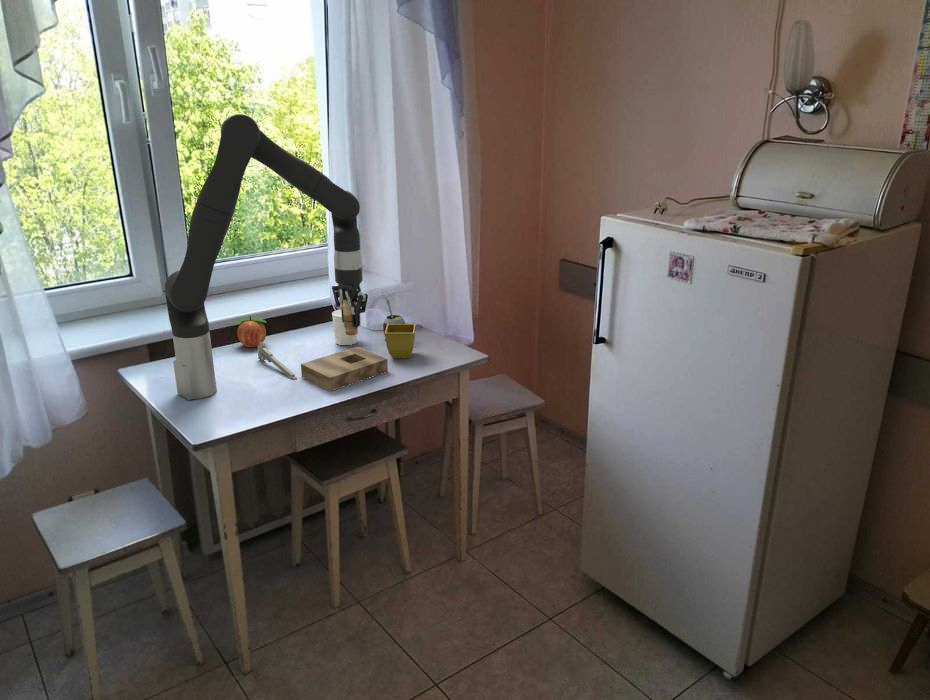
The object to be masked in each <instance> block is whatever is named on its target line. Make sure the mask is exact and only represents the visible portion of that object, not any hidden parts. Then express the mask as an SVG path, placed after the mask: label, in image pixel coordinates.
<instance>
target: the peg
mask: <svg viewBox="0 0 930 700" xmlns="http://www.w3.org/2000/svg"><path fill="white" fill-rule="evenodd" d="M356 302H357V301H354V302H352V303H356ZM355 310H356V306H355ZM343 313H344V328H345V330H346V335H356V334H357V335H358V333H359V331H358V328H359V327H360V326H358V327H353V326H352V311H351V307H349V304H348V301H347V300H343Z"/></svg>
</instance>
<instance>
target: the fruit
mask: <svg viewBox="0 0 930 700" xmlns="http://www.w3.org/2000/svg"><path fill="white" fill-rule="evenodd" d="M238 323H240V324H239V325H238V327H237V333H236V334H237V338H238V341H239V342H240V343H241V344H242V345H243V346H245V347H247V348H258V345H259V342H262V343H263V344H264V343H265V339H266V335H267V330H266V327H265V325H264V323H267V321H266V320H264V319H262V318H258V317H253V318H252V316H251V315H249V318H247V317H245V318H241V319H239V320H238V321H236V322H235V323H234V324H238Z"/></svg>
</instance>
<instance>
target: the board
mask: <svg viewBox="0 0 930 700" xmlns="http://www.w3.org/2000/svg"><path fill="white" fill-rule="evenodd" d="M388 362H389V361H388V358H386V357H384V356H381V355H379V354H377V353H374V352H372V351H369V350H367V349H364V348H362V347H361V346H360V347H359V346H355V347H351V348H349V349H348V348H347V349H346V350H342V351H339V352H336V353H335V352H334V353H332V354H329V355H325V356H322V357H318V358H315V359H313V360H309V361H306V362H303V363H300V371H301V372H300V373H301V377H302V378H303V377H304V378H303V379H305V380H307V381H309V380H310V381H309V382H311V383H313V382H314V383H313V384H315V383H316V384H315V385H317V384H318V385H317V386H319V385H320V386H319V387H321V386H322V387H321V388H323V387H324V388H323V389H325V388H326V389H325V390H327V389H328V390H327V391H329V392H333V391H335V390H334V389H336V390H338V388H339V389H341V387H342V388H344V387H343V386H345V387H347V385H348V386H350V385H349V384H351V385H353V384H352V383H354V384H356V383H355V382H357V383H359V382H358V381H360V382H361V380H363V381H366V380H368V379H370V378H369V377H371V378H373V377H372V376H374V377H376V376H375V375H377V376H380V375H382V374H381V373H383V374H385V373H384V372H386V373H388V371H389V368H388V367H389V365H388ZM379 374H380V375H379ZM367 378H368V379H367ZM332 390H333V391H332Z"/></svg>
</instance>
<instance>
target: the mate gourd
mask: <svg viewBox="0 0 930 700" xmlns="http://www.w3.org/2000/svg"><path fill="white" fill-rule="evenodd" d="M381 295H382V296H383V297H384V298H385V301H386V304H387V307H388V310H389V311H388V312H389V315H387V316H386V317H385V318H384V320H383V324H382V328H383V329H382V330H383V335H384V336H385V330H386V327H387V324H406V322H405V319H404V317H403V316H402V315H400V314H399V315H398V314H393V312H392V309H391V305H390V304H391V303H390V300H389V298H388V297H387V296H386V295H385V293H384V292H381ZM384 341H385V342H386V338H385V339H384Z"/></svg>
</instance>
